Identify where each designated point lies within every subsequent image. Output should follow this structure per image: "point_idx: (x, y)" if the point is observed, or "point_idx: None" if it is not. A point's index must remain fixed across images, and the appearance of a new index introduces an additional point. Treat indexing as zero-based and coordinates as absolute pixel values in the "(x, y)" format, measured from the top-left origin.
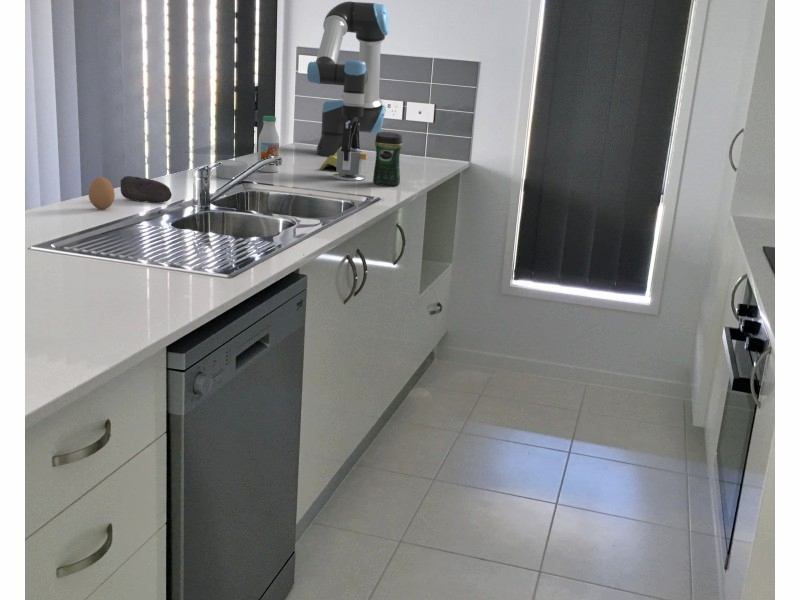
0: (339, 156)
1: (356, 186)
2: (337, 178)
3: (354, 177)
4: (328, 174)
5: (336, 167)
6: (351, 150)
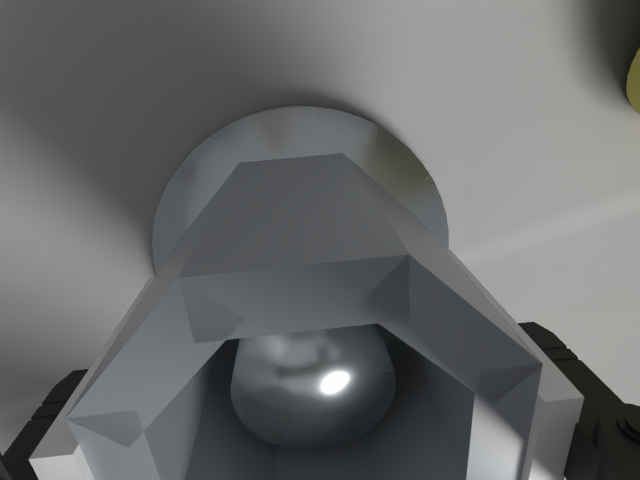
0: (153, 291)
1: (13, 409)
2: (162, 201)
3: None
4: (378, 9)
5: (231, 176)
6: (467, 423)
